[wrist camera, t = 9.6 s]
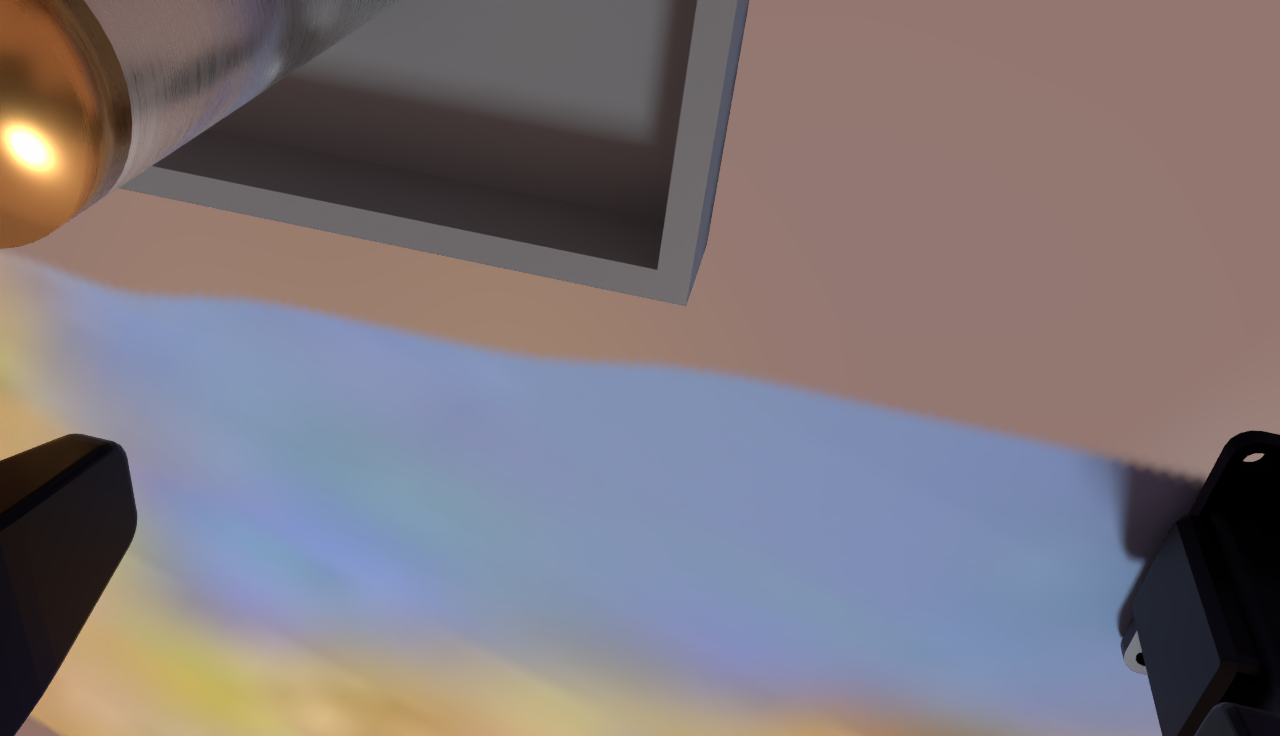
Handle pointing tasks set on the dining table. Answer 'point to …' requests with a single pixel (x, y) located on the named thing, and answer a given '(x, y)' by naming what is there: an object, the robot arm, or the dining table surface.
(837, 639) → the dining table surface
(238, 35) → the pin
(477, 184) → the tray
